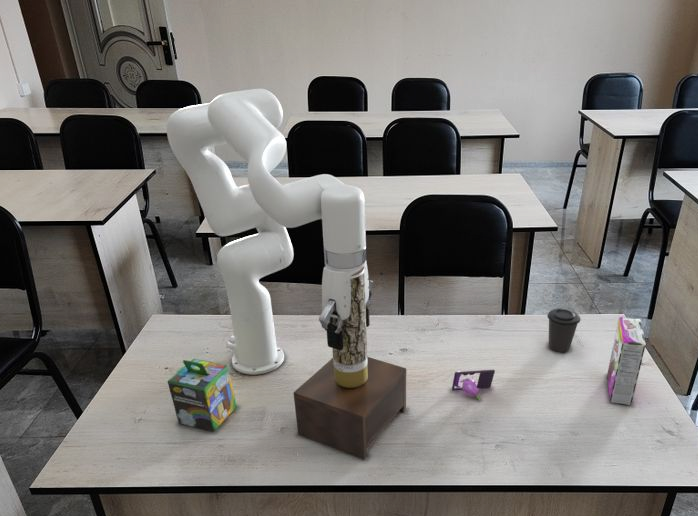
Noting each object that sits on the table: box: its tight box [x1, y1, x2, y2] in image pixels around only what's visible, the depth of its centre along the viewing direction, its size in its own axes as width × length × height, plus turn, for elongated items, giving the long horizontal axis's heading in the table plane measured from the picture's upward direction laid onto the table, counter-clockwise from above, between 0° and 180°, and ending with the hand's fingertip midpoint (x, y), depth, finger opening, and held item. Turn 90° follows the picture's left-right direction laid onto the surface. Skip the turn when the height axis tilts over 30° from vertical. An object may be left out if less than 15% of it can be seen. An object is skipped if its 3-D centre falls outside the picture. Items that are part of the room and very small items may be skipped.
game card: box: [451, 369, 496, 401], centre depth 136 cm, size 7×5×9 cm
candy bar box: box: [606, 316, 647, 406], centre depth 135 cm, size 11×5×16 cm, turn 167°
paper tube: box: [331, 267, 368, 388], centre depth 117 cm, size 7×7×25 cm
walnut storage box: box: [293, 356, 407, 461], centre depth 126 cm, size 16×18×11 cm
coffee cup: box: [546, 307, 582, 354], centre depth 152 cm, size 8×8×10 cm
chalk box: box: [167, 358, 238, 433], centre depth 127 cm, size 9×9×15 cm
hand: (349, 336), depth 118 cm, fingers open, 9 cm apart
